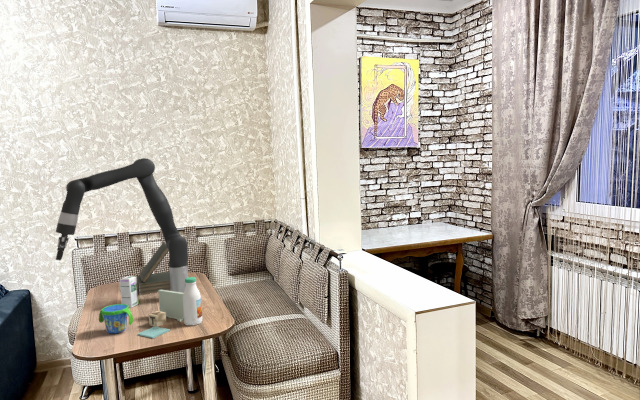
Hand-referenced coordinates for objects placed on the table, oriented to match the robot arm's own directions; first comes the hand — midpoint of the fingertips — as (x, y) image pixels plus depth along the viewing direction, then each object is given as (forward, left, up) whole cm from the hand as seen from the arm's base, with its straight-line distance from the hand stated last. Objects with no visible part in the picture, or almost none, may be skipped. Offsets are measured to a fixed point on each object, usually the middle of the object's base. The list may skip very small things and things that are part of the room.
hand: (58, 258), depth 203 cm
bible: (-58, -7, -30) cm, 65 cm away
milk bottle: (-23, +57, -29) cm, 68 cm away
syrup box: (-29, +8, -29) cm, 42 cm away
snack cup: (-3, +33, -29) cm, 44 cm away
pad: (-8, +50, -29) cm, 59 cm away
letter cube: (-16, +43, -29) cm, 55 cm away
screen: (-25, +43, -29) cm, 58 cm away
